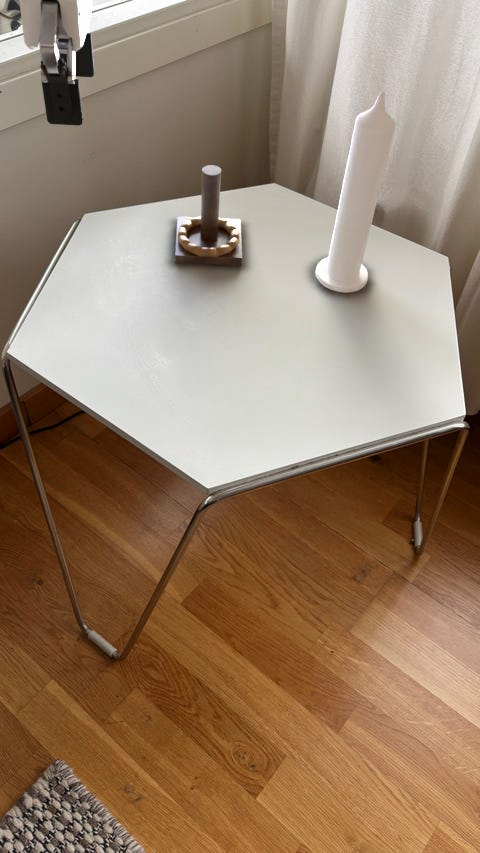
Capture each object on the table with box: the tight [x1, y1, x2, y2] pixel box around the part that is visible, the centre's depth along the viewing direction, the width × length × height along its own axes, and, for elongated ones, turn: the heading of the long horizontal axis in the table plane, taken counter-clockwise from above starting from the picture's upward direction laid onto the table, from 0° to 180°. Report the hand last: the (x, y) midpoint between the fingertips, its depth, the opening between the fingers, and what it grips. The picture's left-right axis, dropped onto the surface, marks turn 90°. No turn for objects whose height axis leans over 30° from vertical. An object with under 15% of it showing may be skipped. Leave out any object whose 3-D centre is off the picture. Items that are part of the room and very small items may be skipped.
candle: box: [315, 90, 396, 294], centre depth 86 cm, size 7×7×25 cm
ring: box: [178, 215, 239, 257], centre depth 97 cm, size 8×8×1 cm
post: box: [174, 164, 243, 266], centre depth 94 cm, size 9×9×11 cm
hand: (72, 98), depth 68 cm, fingers open, 9 cm apart
